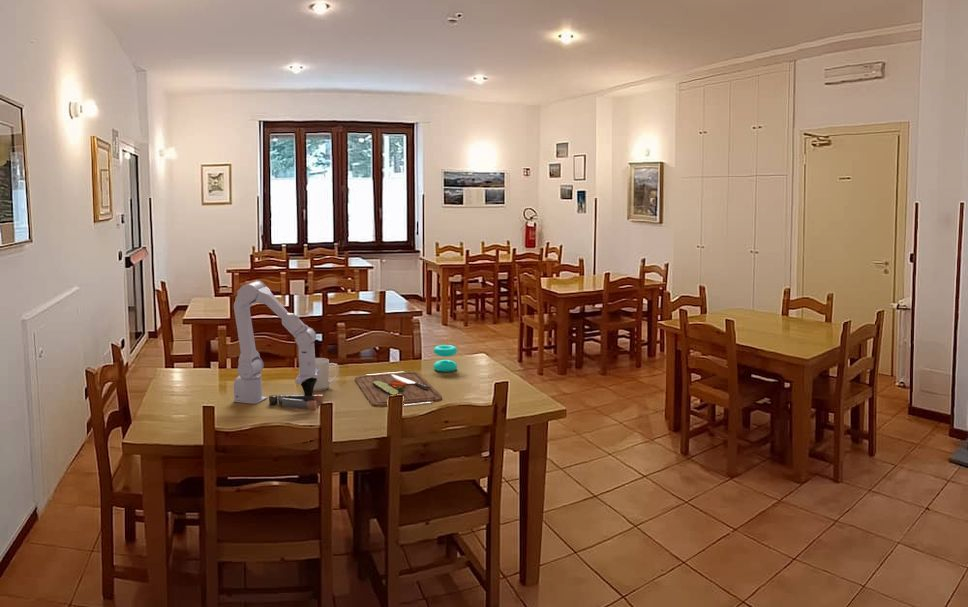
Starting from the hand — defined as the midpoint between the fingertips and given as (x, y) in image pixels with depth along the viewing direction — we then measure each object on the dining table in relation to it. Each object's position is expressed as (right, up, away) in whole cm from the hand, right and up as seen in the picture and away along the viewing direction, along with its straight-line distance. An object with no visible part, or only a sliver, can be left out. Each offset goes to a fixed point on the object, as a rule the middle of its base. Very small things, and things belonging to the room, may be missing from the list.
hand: (308, 398), depth 275 cm
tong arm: (-3, -2, -1) cm, 3 cm away
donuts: (+48, +6, +48) cm, 68 cm away
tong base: (-5, -3, -4) cm, 7 cm away
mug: (+1, +1, +19) cm, 19 cm away
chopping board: (+30, 0, +19) cm, 36 cm away
